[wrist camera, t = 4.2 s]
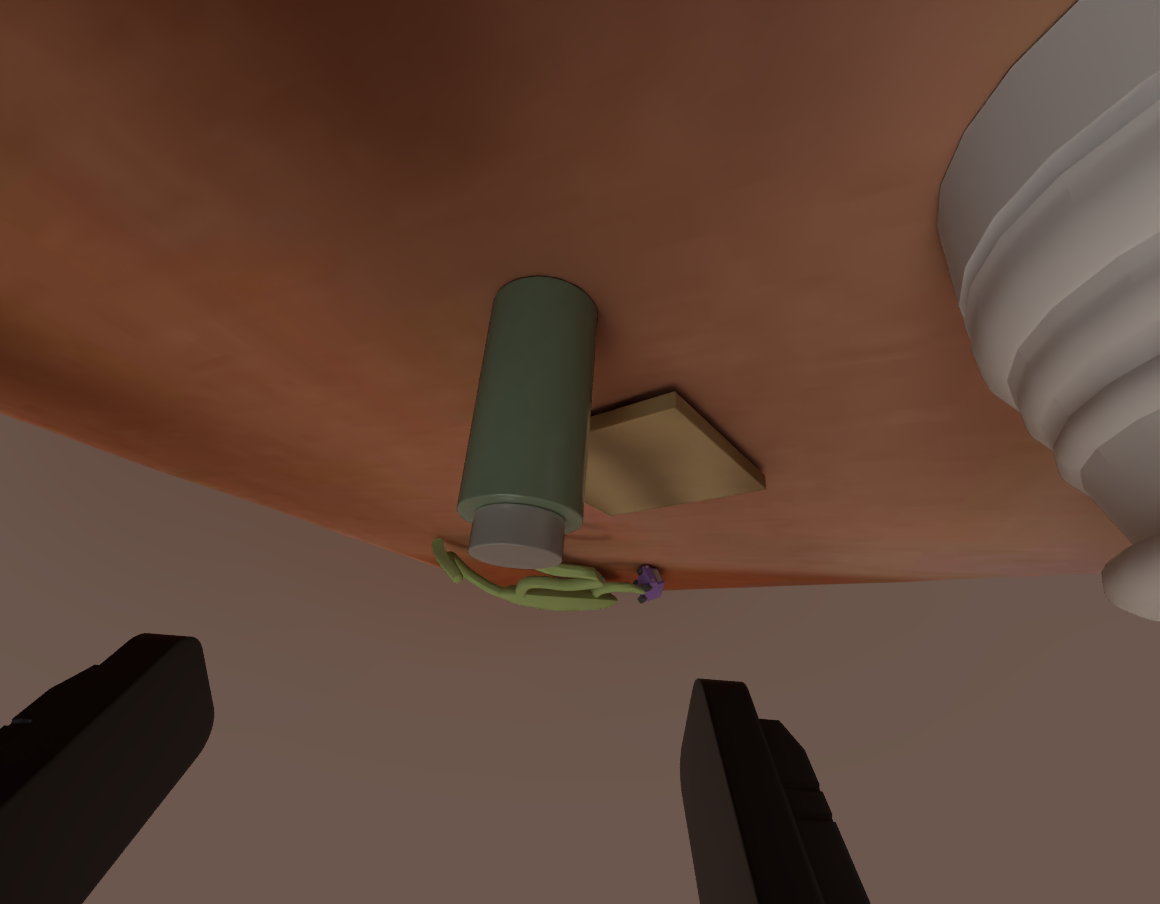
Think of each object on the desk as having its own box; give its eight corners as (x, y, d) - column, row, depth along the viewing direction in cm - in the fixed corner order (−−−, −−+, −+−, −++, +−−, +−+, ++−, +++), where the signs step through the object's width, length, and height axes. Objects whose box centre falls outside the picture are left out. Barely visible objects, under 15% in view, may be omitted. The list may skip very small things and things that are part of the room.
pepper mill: (540, 356, 26) (513, 577, 21) (470, 302, 23) (421, 548, 18) (618, 323, 23) (605, 567, 19) (551, 259, 20) (517, 532, 16)
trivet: (611, 499, 42) (611, 516, 42) (502, 437, 34) (499, 458, 33) (764, 469, 35) (766, 489, 35) (675, 383, 27) (674, 408, 26)
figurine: (571, 506, 45) (565, 575, 42) (688, 579, 65) (689, 628, 62) (410, 528, 54) (398, 585, 51) (558, 586, 74) (554, 629, 72)
